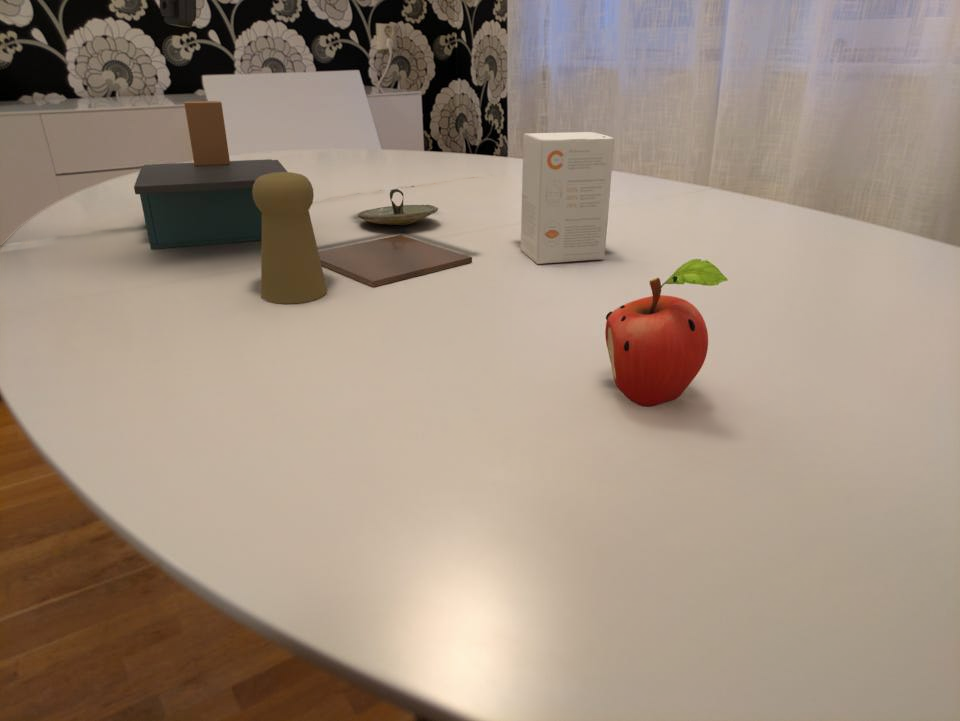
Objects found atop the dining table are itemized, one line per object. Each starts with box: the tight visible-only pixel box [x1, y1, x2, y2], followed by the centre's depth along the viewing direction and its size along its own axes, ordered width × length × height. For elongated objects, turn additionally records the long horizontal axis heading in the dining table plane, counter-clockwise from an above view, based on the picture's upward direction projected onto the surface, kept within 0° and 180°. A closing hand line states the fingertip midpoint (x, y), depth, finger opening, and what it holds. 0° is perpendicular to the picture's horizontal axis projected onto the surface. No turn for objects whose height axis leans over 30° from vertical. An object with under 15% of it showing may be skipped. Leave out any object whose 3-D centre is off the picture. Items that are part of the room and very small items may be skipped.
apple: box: [604, 258, 729, 408], centre depth 42 cm, size 8×7×10 cm
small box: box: [520, 131, 615, 265], centre depth 73 cm, size 8×6×13 cm
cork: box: [252, 171, 328, 305], centre depth 61 cm, size 6×6×11 cm
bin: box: [139, 158, 273, 250], centre depth 83 cm, size 16×14×8 cm
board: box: [318, 234, 473, 288], centre depth 73 cm, size 13×13×1 cm
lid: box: [357, 188, 439, 226], centre depth 88 cm, size 11×10×5 cm
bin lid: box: [133, 100, 288, 195], centre depth 75 cm, size 16×14×8 cm
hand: (178, 25), depth 63 cm, fingers closed
